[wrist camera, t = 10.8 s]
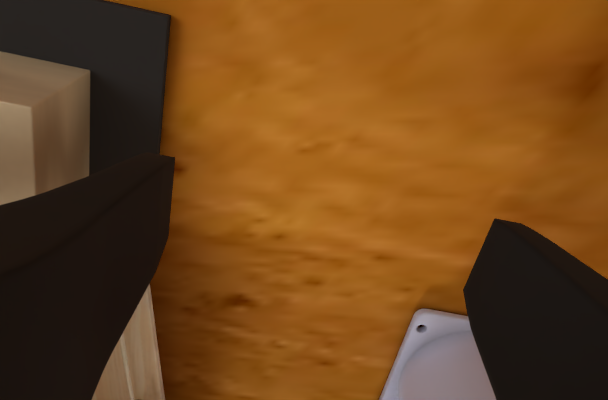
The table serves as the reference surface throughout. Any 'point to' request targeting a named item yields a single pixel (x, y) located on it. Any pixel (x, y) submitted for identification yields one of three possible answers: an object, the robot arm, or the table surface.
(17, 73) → the top cube
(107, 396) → the shape sorter
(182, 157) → the table surface
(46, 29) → the mat
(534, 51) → the table surface
